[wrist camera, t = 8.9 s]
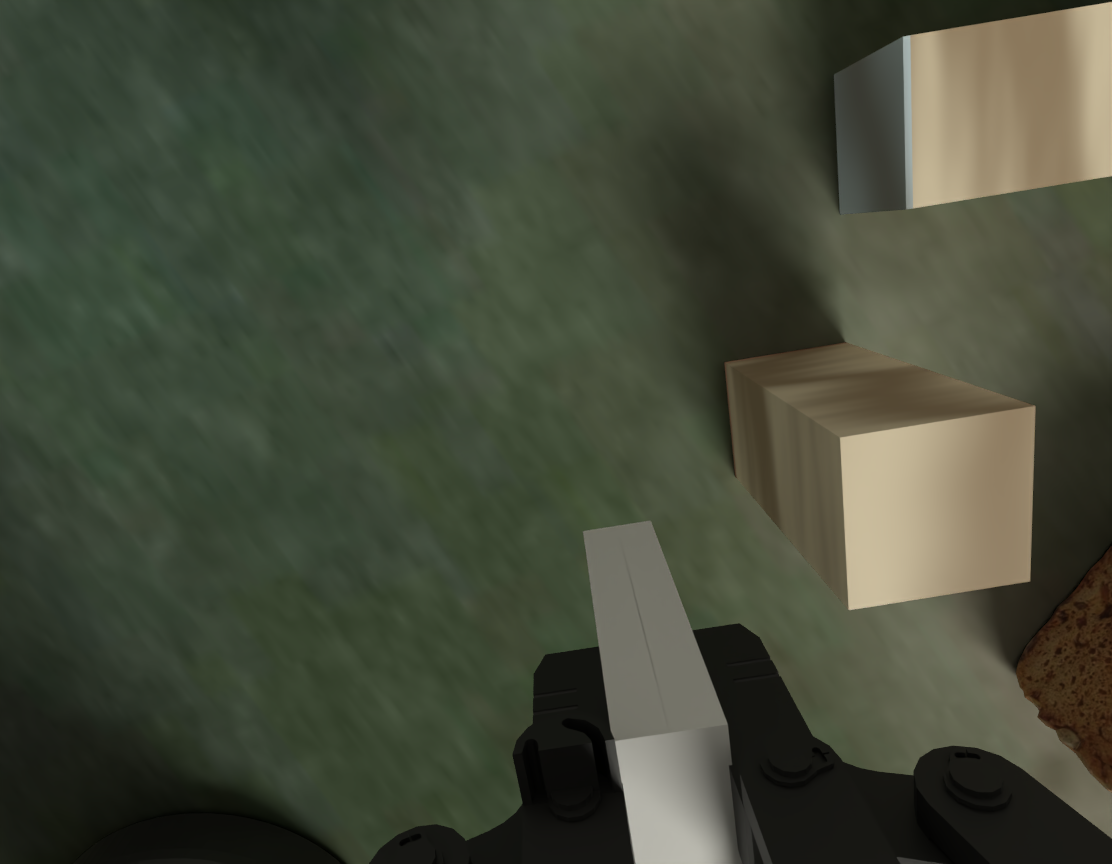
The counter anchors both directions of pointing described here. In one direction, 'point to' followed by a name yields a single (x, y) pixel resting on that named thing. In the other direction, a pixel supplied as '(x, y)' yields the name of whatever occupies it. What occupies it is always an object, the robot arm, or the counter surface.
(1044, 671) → the bread
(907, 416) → the light wood tall block
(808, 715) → the counter surface
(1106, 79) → the light wood rectangular bar
